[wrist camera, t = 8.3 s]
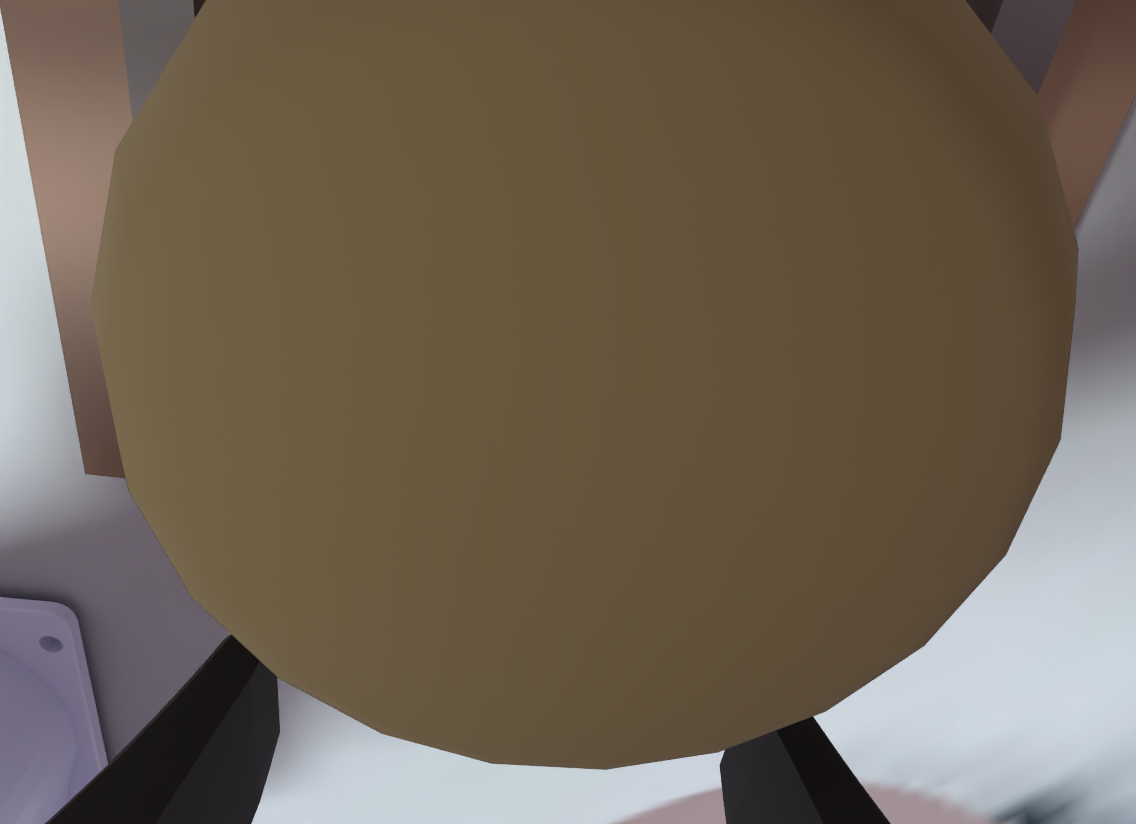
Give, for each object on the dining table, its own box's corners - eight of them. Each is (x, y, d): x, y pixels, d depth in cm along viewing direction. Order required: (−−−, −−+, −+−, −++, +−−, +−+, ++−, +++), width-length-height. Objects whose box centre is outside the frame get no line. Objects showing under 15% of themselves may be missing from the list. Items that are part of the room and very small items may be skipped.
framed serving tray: (910, 544, 18) (951, 608, 16) (99, 458, 17) (43, 518, 15) (1329, -397, 10) (1495, -478, 9) (-100, -716, 9) (-266, -892, 7)
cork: (308, -3, 12) (-688, 74, 2) (686, -178, 11) (1603, -1236, 1) (471, 336, 15) (320, 1009, 5) (785, 220, 14) (1322, 781, 4)
